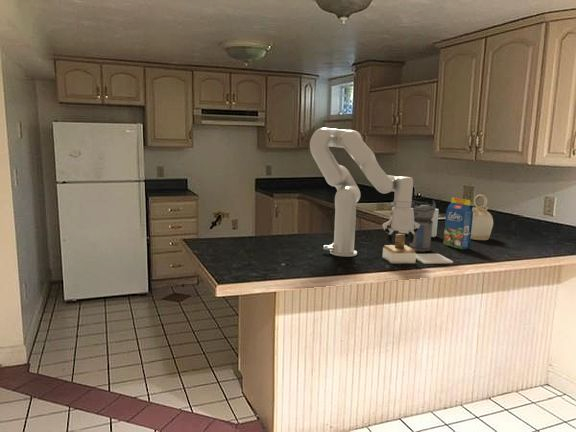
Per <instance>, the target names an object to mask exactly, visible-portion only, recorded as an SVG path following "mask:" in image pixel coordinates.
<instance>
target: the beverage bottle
mask: <svg viewBox="0 0 576 432" xmlns="http://www.w3.org/2000/svg"><path fill="white" fill-rule="evenodd" d="M436 206H437V204H436V202H435V200H432V201H431V204H429V203H424V201H423V202H422V201H417V200H413V199H412V205H411V208H413V211H414V221H415V222H417V223H418V224H420V226H419V228H418V230H417V231H416V232H415V234H414V238H413V242H412V243H410V242H409V246H408V247H410V248H412V249H414V250H415V252H419V253H425V252H426V251H427V252H429V251H430V250H431V248H432V247H431V242H432V237H431V233H432V225H433V221H432V220H431V219H432V218H433V214H434V211H435V209H437V207H436ZM414 228H415V225H414ZM409 233H410V232H409ZM408 236H409V234H407V236H406V237H407V238H408Z"/></svg>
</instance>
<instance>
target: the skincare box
mask: <svg viewBox="0 0 576 432" xmlns="http://www.w3.org/2000/svg"><path fill="white" fill-rule="evenodd" d="M439 212H440V211H439V208H436V209H435V211H434V214H433V218H432V219H431V220H432V221H433V225H432V233H431V238H435V237H437V232H438V231H437V230H438V222H439V221H438V219H439ZM398 234H404V235H406V234H407V235H408V234H409V231H398Z"/></svg>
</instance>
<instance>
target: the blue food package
mask: <svg viewBox="0 0 576 432" xmlns="http://www.w3.org/2000/svg"><path fill="white" fill-rule="evenodd" d="M472 220H473V211H472V207H471V199H464V198H459V197H451V202H450V204H448V207H447V209H446V211H445V223H444V232H443V233H444V234H443V242H442V244H443V245H445V246H447V247H452V248H454V249H457V250H468V249H470V248H471V247H470V246H471V240H472V239H471V230H472Z"/></svg>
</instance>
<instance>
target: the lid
mask: <svg viewBox="0 0 576 432" xmlns="http://www.w3.org/2000/svg"><path fill="white" fill-rule="evenodd" d="M405 238H406V234H405V233H395V241H394V244H384V246H383V248H385V249H387V250H388V251H390V252H392V253H416V251H415V250H414V249H412V248H410V247H409V246H408V245H407V244H405V240H406V239H405Z"/></svg>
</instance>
